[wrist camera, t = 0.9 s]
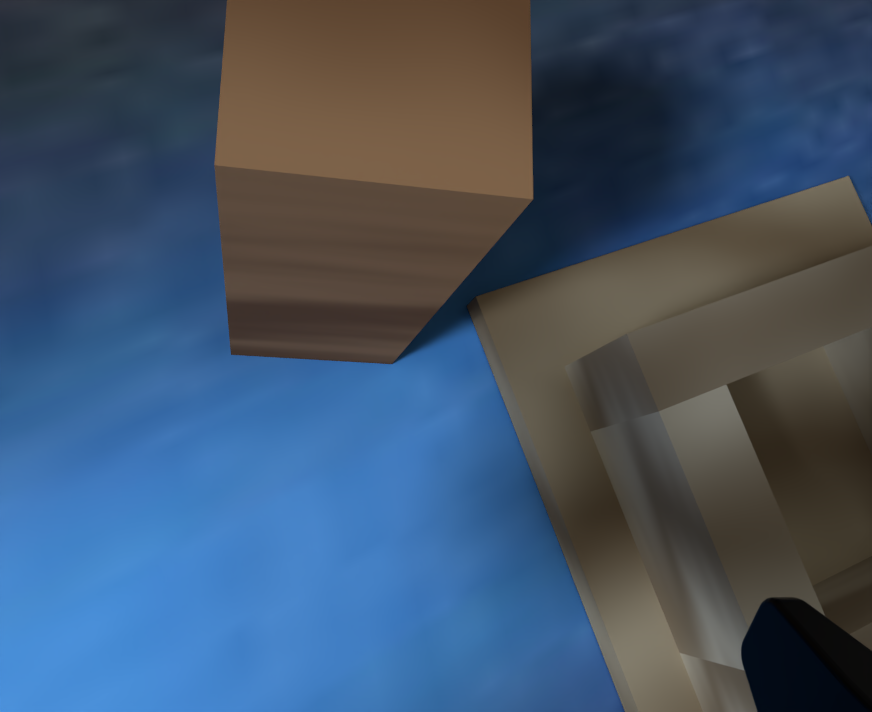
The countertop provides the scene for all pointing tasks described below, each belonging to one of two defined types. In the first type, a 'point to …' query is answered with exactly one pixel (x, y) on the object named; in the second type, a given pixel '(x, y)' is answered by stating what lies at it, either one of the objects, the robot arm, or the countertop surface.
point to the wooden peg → (365, 165)
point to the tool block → (701, 434)
